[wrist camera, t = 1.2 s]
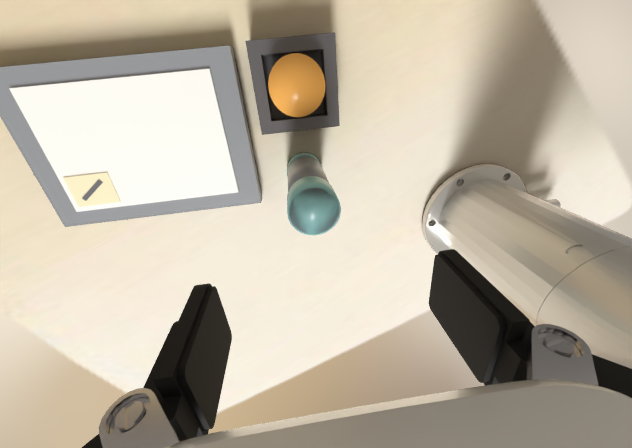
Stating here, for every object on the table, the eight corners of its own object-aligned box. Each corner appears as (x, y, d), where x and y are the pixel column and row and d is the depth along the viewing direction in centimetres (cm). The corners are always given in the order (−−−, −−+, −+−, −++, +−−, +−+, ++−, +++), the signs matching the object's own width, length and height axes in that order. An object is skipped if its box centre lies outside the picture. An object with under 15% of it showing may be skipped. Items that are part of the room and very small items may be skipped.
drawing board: (232, 47, 23) (228, 44, 22) (262, 197, 30) (260, 203, 28) (-9, 70, 22) (-32, 69, 21) (75, 220, 29) (62, 228, 27)
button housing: (329, 38, 24) (334, 32, 21) (334, 122, 27) (339, 126, 24) (250, 46, 24) (245, 40, 21) (264, 130, 27) (262, 134, 24)
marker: (320, 150, 28) (339, 183, 18) (323, 184, 30) (341, 231, 20) (284, 154, 28) (283, 189, 18) (289, 189, 30) (291, 238, 20)
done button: (319, 54, 22) (323, 50, 20) (323, 111, 24) (327, 114, 22) (265, 59, 22) (263, 56, 20) (274, 117, 24) (273, 119, 22)
